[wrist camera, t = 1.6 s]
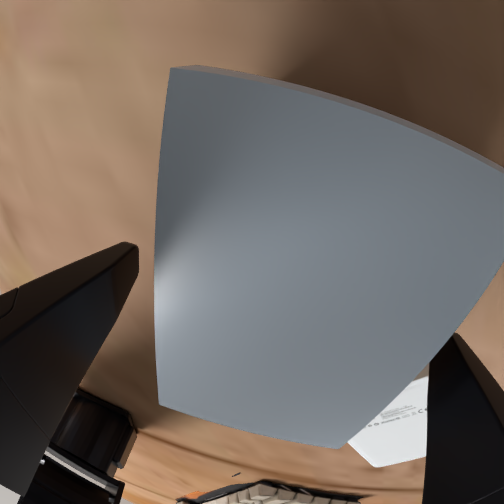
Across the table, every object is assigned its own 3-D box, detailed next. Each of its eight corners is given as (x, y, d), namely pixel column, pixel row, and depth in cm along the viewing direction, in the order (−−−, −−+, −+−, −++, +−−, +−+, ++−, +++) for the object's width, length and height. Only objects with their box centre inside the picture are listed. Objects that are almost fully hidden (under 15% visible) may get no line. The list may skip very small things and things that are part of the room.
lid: (170, 378, 11) (159, 404, 10) (197, 64, 5) (170, 67, 4) (340, 421, 11) (338, 449, 10) (510, 171, 5) (539, 195, 4)
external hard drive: (373, 452, 23) (311, 388, 18) (463, 427, 19) (444, 346, 15) (372, 468, 21) (309, 410, 17) (465, 444, 18) (450, 370, 13)
